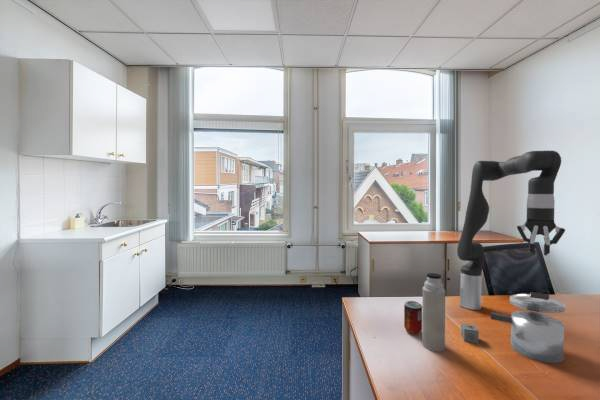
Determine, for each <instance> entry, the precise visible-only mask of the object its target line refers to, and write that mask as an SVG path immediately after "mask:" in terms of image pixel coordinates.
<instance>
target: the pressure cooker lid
mask: <svg viewBox="0 0 600 400" xmlns="http://www.w3.org/2000/svg"><path fill="white" fill-rule="evenodd" d="M509 303H510V304H511V305H513V306H514V307H517V308H519V309H523V310H525V311H532V312H537V313H541V314H560V313H565V311H566V304H565V303H564V302H562V301H561V300H559V299H556V298H553V297H550V294H547V293H540V292H533V291H530V292H529V293H516V294H512V295H510V296H509Z"/></svg>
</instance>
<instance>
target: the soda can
mask: <svg viewBox="0 0 600 400" xmlns="http://www.w3.org/2000/svg"><path fill="white" fill-rule="evenodd" d="M403 306H404V310H403V311H404V312H403V313H404V317H403V318H404V319H403V321H404V322H403V323H404V324H403V326H404V329H405V331H407V332H406V333H407V334H409V333H410V334H409V335H412V334H414V335H415V336H418V335H420V334H421V333H422V304H421V303H420V302H417V301H414V300H407V301H406V302H405V303H404V305H403Z"/></svg>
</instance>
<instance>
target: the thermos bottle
mask: <svg viewBox="0 0 600 400" xmlns="http://www.w3.org/2000/svg"><path fill="white" fill-rule="evenodd" d="M426 276H427V278H426V280H425V281H424V284H423V285H424V286H422V304H421V305H422V330H421V344H422V346H423V347H424V348H426V349H427V350H430V351H434V352H442V351H444V350H445V349H446V347H445V346H446V289H445V288H444V287H445V286H444V283H442V279H441V278H442V275H441V274H440V273H439V274H438V273H434V272H429V273H427V274H426Z"/></svg>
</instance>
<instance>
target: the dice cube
mask: <svg viewBox="0 0 600 400" xmlns="http://www.w3.org/2000/svg"><path fill="white" fill-rule="evenodd" d="M479 333H480V331H479V329H478V327H477V326H476V324H468V323H460V336H461V338H462V340H463V341H464V342H465V343H466V342H468V343H473V344H474V343H475V344H479V340H480V339H479V338H480V335H479Z"/></svg>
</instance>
